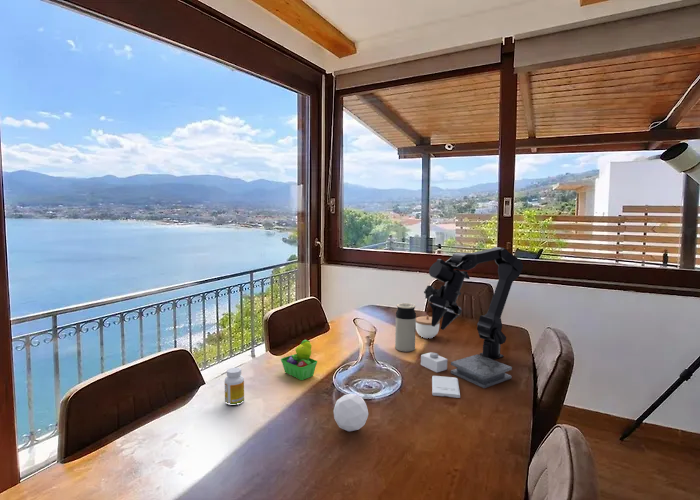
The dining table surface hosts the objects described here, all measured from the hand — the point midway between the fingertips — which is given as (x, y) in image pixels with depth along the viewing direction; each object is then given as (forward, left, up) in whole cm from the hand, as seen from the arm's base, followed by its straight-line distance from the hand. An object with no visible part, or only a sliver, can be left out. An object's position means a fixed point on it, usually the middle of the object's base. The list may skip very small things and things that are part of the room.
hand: (437, 327), depth 141 cm
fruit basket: (+43, -21, -15) cm, 50 cm away
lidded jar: (-23, -28, -15) cm, 39 cm away
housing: (0, -1, -15) cm, 15 cm away
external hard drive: (+9, +13, -15) cm, 22 cm away
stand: (-8, +13, -15) cm, 21 cm away
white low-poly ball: (+46, +16, -15) cm, 51 cm away
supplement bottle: (+68, -13, -15) cm, 71 cm away
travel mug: (-4, -21, -15) cm, 26 cm away
